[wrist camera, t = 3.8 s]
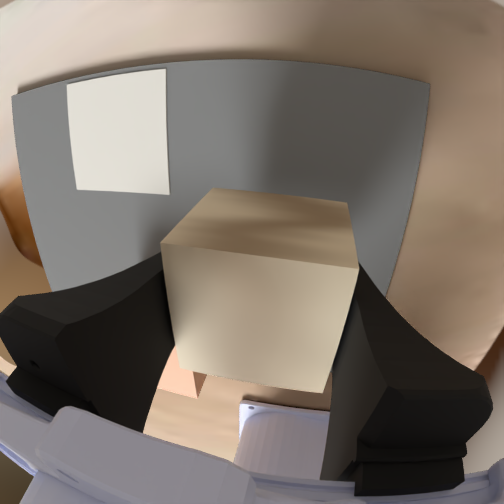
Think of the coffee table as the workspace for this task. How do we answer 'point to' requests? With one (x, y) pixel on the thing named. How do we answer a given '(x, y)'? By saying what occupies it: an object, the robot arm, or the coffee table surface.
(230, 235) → the birch block
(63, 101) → the build mat
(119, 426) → the robot arm
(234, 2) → the coffee table surface
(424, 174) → the coffee table surface
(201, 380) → the terracotta block
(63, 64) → the coffee table surface
